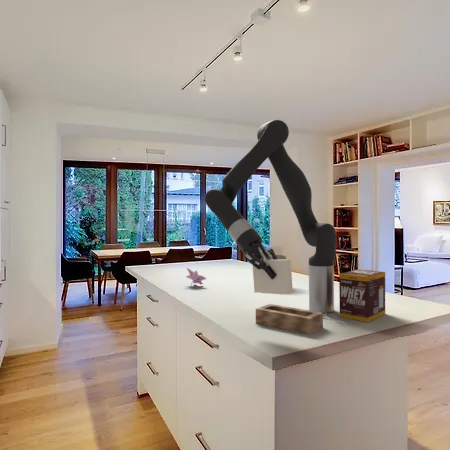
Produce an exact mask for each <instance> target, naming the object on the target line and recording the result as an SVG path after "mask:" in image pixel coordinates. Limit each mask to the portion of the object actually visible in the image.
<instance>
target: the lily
mask: <svg viewBox="0 0 450 450" xmlns="http://www.w3.org/2000/svg"><path fill="white" fill-rule="evenodd" d="M186 270H187V272H188V274H189V275H186V276H185V277H186V278H187V279H190V280H192V281H191V284H190V286H192V285H193V284H194V283H197V284H199V285H201V284H203V282H202V281H206V280H207V277H205V276H204V275H201V274H199V273H198V270H194V271H193V270H192V269H190V268H188V267H186ZM203 285H204V284H203Z"/></svg>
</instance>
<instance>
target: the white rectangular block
mask: <svg viewBox="0 0 450 450" xmlns="http://www.w3.org/2000/svg"><path fill="white" fill-rule="evenodd" d="M266 261H267V262H268V264H269V266H270V267H271V268H272V269H273V270H274V271H275V273H276V274H277V276H276V277H275V278H274V279H271V278H270V277H269V276H268V274H267V273H266V272H265V271H263V270H262V269H260V270H258V269H257V268H256V267H255V266H253V265H252V276H253V291H254V293H256V294H257V293H261V294H276V295H290V294H293V293H294V290H293V289H294V288H293V277H292V261H291V258H290V259H287V258H286V259H277V260H266ZM255 263H256V262H255Z"/></svg>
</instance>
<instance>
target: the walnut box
mask: <svg viewBox="0 0 450 450" xmlns="http://www.w3.org/2000/svg"><path fill="white" fill-rule="evenodd" d="M323 314H324V313H322V312H316V311H310V310H309V309H304V308H297V307H291V306H286V305H285V306H284V305H279V304H273V303H269V304H266V305H263V306H260V307H257V308H255V324H258V323H260V324H259V325H263V324H264V325H263V326H267V325H268V326H267V327H273V328H278V329H280V330H281V329H283V330H286V331H287V330H288V331H290V332H297V333H300V334H306V335H312V334H314V333H315V332H317V331H319V330H321V329H323V328H324V327H323V326H324V319H323V317H324V315H323Z"/></svg>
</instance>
